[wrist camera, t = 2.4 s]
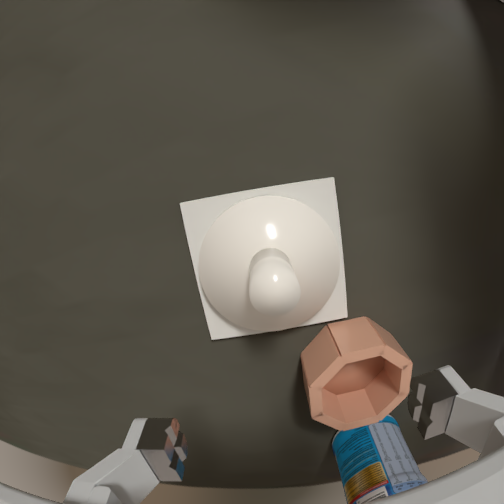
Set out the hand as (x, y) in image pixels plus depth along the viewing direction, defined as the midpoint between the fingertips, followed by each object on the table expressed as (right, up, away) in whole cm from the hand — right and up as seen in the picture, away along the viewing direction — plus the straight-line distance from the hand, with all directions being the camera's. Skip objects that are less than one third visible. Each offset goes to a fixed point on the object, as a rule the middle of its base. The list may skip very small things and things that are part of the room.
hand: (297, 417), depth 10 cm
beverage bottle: (+12, -16, +22) cm, 30 cm away
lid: (0, +5, +16) cm, 17 cm away
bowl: (+8, -5, +19) cm, 21 cm away
